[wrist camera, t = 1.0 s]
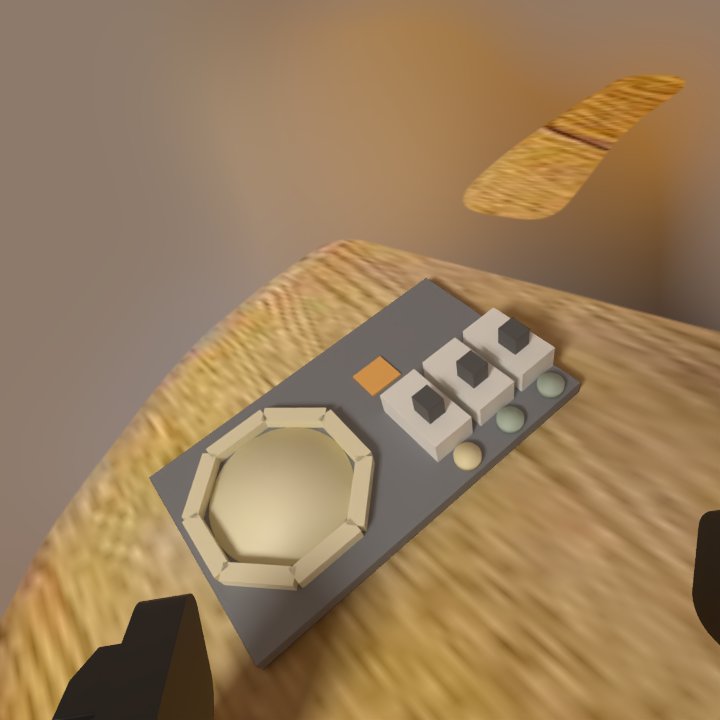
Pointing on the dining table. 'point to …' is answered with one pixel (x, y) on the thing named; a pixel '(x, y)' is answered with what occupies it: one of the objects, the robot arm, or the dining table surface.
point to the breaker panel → (355, 458)
